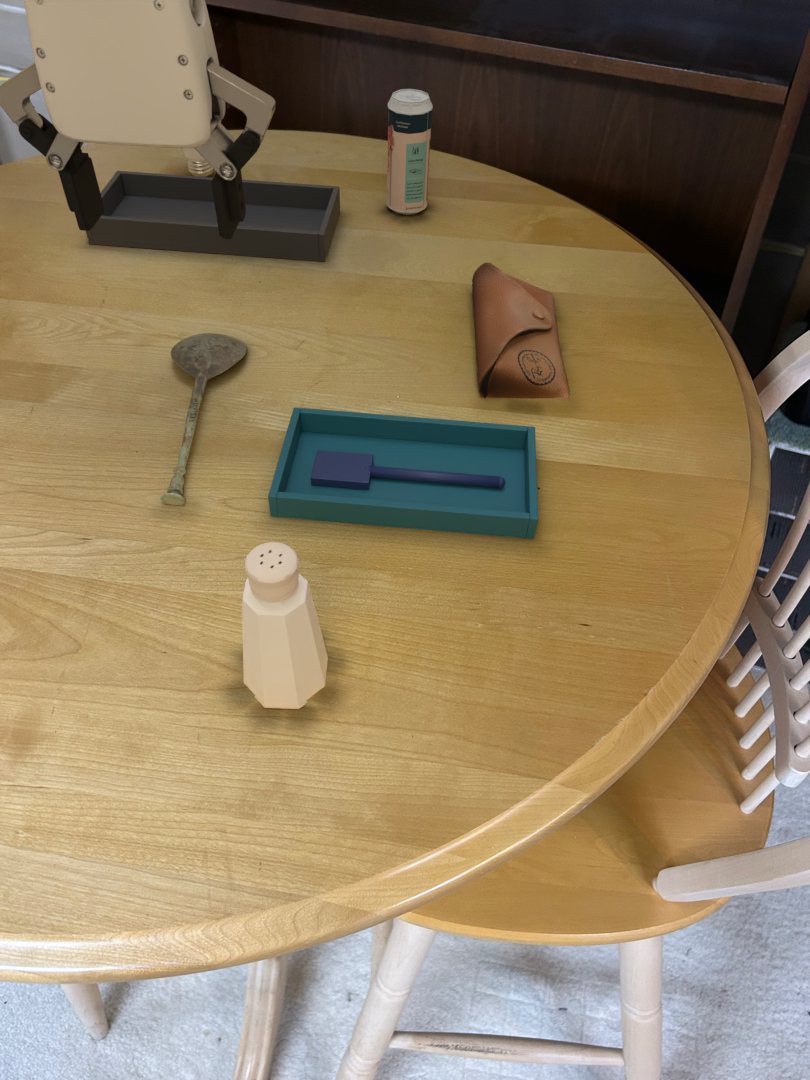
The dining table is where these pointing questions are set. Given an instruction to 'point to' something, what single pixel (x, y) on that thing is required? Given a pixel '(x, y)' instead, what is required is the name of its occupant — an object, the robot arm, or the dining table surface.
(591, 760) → the dining table surface
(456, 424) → the teal tray
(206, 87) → the robot arm
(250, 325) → the dining table surface
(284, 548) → the pepper shaker
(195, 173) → the light bulb
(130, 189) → the grey tray
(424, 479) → the navy spatula
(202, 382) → the soupspoon
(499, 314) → the sunglasses case
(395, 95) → the beer can
